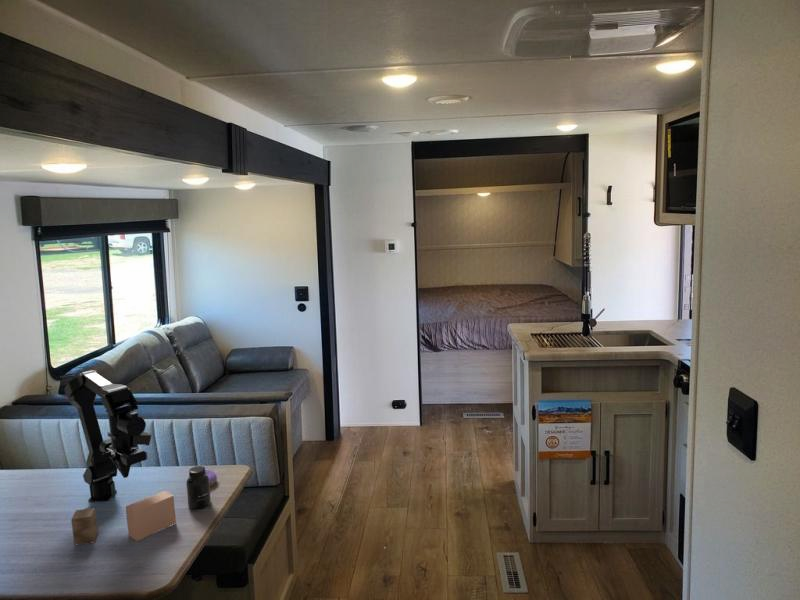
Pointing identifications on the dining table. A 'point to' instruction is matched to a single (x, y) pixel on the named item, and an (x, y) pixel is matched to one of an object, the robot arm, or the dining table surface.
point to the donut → (211, 477)
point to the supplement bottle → (198, 488)
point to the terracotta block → (150, 515)
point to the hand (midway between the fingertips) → (125, 477)
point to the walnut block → (84, 526)
